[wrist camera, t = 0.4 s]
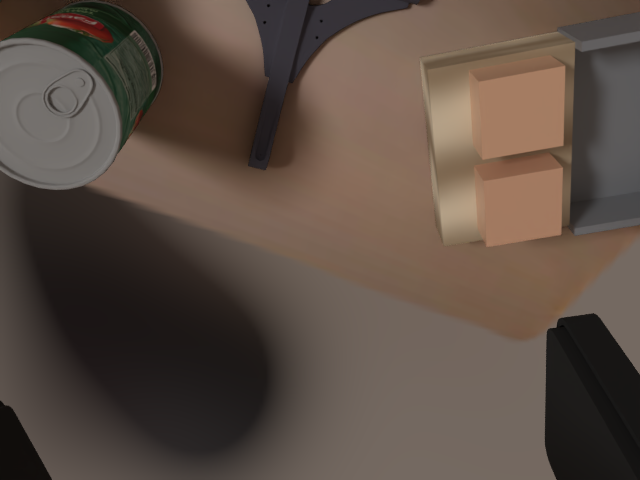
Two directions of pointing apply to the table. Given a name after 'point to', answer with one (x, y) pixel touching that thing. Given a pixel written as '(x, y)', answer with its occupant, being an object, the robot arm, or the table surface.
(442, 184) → the board
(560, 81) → the tile
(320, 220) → the table surface
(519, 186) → the tile
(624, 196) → the bus tub
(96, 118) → the canned tomato
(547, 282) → the table surface
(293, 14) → the bracket
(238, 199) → the table surface
